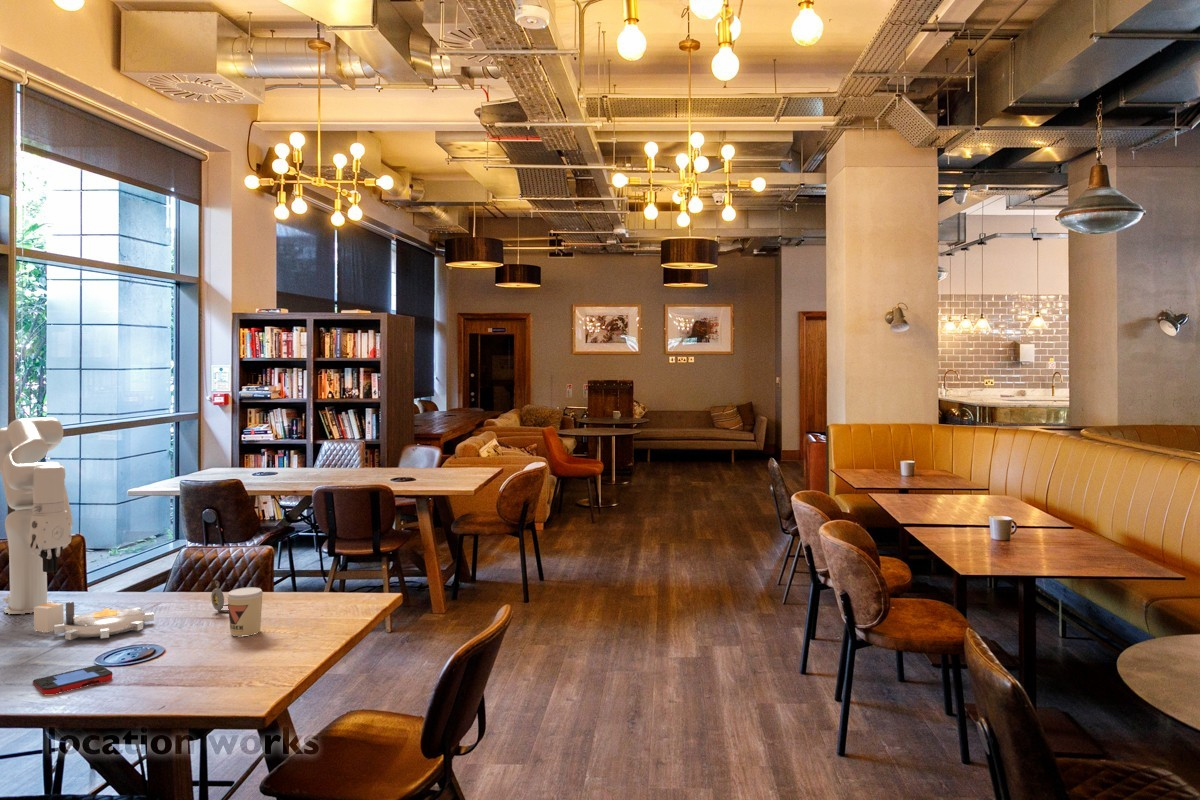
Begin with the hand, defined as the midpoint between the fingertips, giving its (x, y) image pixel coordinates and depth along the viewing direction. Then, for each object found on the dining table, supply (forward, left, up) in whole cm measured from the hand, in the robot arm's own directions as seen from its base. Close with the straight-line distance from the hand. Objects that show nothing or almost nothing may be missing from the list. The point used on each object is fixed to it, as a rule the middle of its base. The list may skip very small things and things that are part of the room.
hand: (50, 571), depth 235 cm
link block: (0, -1, -17) cm, 17 cm away
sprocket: (+16, +3, -17) cm, 23 cm away
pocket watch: (+36, +29, -17) cm, 49 cm away
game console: (+42, -31, -18) cm, 55 cm away
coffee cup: (+57, +11, -17) cm, 60 cm away
